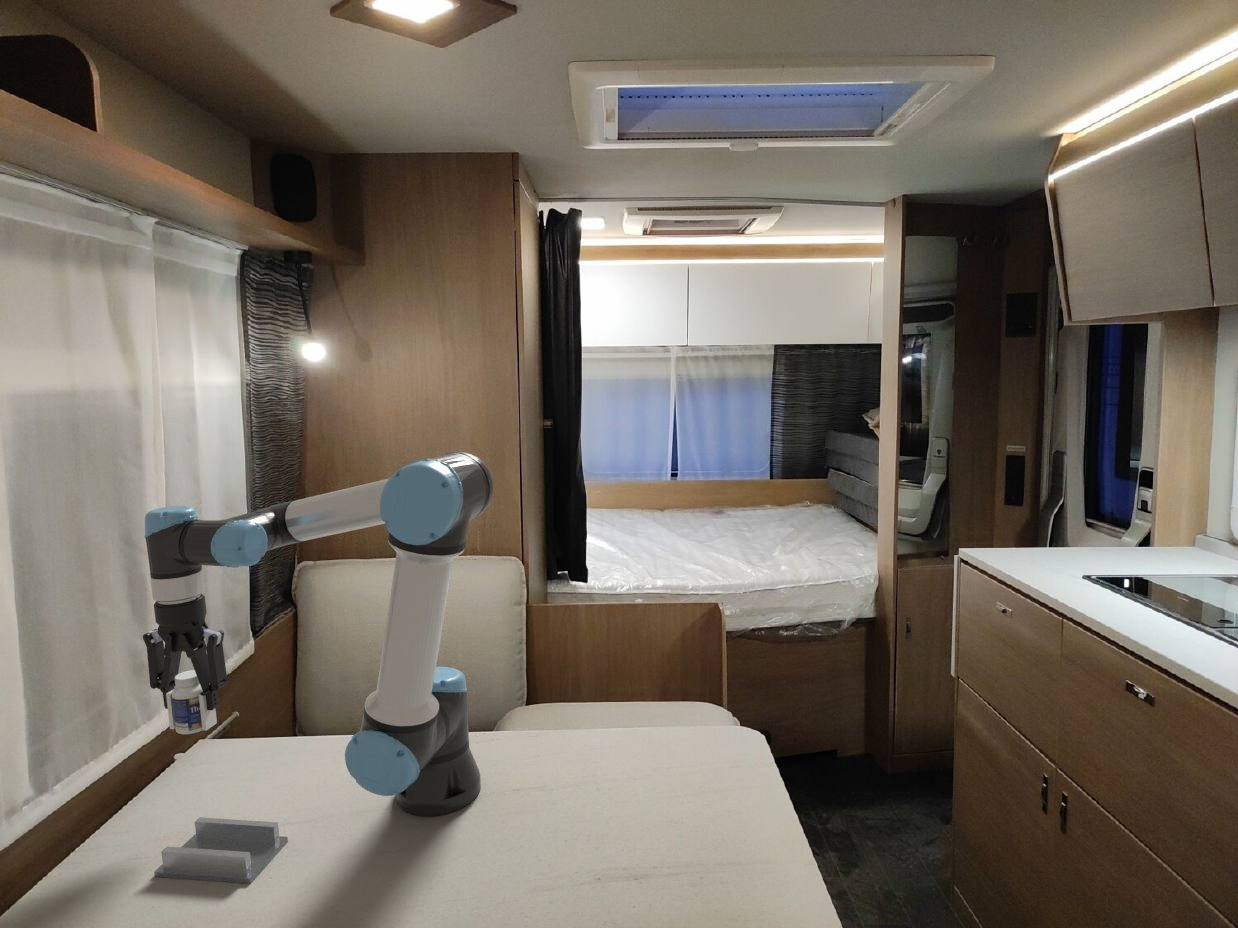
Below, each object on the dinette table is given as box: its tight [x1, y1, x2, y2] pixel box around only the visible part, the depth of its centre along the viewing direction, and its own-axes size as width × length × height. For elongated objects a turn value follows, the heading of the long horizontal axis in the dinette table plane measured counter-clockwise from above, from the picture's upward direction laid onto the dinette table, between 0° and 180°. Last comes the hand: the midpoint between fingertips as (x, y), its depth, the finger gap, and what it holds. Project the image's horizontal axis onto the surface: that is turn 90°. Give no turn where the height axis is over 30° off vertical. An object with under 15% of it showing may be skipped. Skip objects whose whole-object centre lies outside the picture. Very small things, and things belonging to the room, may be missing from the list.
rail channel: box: [153, 817, 289, 885], centre depth 116 cm, size 16×10×4 cm, turn 83°
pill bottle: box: [172, 669, 203, 735], centre depth 126 cm, size 5×5×10 cm
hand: (193, 725), depth 126 cm, fingers closed on pill bottle, 5 cm apart
